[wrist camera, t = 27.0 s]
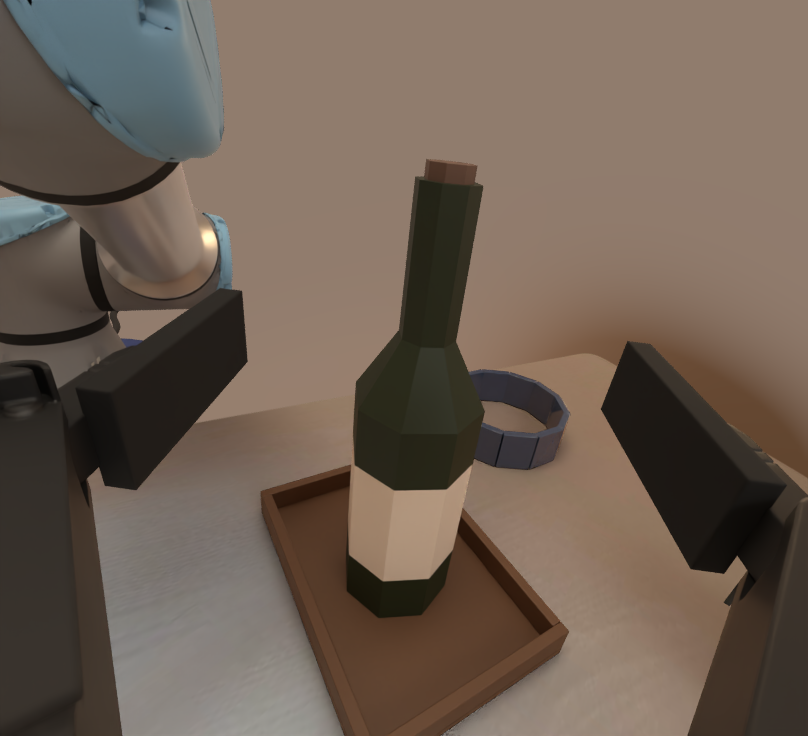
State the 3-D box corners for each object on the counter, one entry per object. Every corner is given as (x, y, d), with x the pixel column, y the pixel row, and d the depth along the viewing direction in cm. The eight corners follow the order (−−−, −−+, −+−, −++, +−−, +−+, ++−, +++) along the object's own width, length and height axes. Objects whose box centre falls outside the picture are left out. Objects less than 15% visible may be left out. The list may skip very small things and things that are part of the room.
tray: (261, 511, 40) (260, 490, 38) (407, 465, 47) (410, 446, 46) (364, 788, 24) (367, 768, 23) (559, 652, 31) (569, 631, 30)
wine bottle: (325, 600, 32) (336, 153, 18) (362, 518, 39) (392, 151, 25) (434, 636, 31) (540, 179, 17) (452, 543, 38) (538, 169, 24)
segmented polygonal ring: (420, 410, 57) (424, 381, 55) (503, 389, 64) (510, 362, 62) (492, 483, 46) (501, 450, 44) (583, 449, 53) (595, 418, 51)
